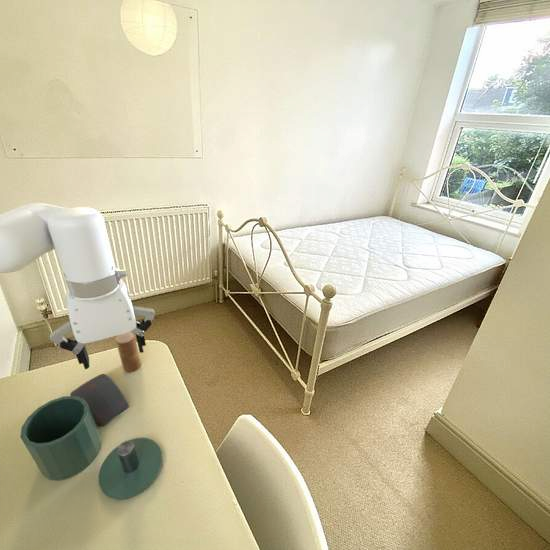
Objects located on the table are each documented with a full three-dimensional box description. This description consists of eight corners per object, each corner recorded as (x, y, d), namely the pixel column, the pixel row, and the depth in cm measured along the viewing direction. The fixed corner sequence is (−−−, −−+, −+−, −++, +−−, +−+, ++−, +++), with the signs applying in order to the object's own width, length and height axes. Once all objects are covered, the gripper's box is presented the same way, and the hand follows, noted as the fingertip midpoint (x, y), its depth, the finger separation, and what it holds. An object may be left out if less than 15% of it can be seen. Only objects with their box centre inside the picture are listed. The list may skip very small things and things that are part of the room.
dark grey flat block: (101, 377, 79) (98, 365, 77) (133, 404, 72) (129, 393, 70) (68, 398, 73) (63, 386, 71) (98, 430, 66) (94, 418, 64)
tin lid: (102, 514, 53) (92, 494, 49) (97, 457, 61) (89, 436, 58) (168, 481, 58) (163, 460, 55) (156, 432, 66) (151, 411, 63)
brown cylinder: (124, 374, 80) (116, 345, 75) (122, 363, 83) (114, 334, 78) (142, 368, 82) (135, 339, 77) (139, 358, 85) (132, 329, 80)
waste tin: (38, 491, 55) (17, 457, 50) (42, 442, 63) (24, 409, 58) (103, 463, 60) (89, 429, 55) (99, 421, 68) (86, 388, 63)
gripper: (144, 263, 59) (156, 332, 67) (34, 282, 52) (64, 357, 60) (150, 281, 53) (164, 354, 62) (28, 305, 46) (62, 385, 54)
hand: (114, 355), depth 61 cm, fingers open, 9 cm apart
